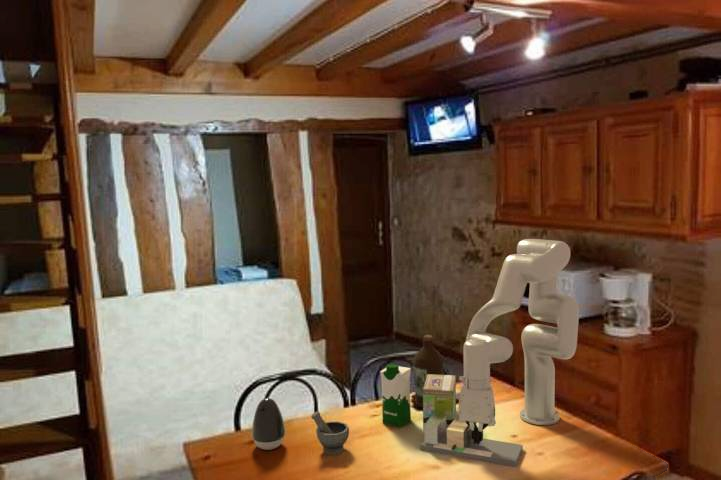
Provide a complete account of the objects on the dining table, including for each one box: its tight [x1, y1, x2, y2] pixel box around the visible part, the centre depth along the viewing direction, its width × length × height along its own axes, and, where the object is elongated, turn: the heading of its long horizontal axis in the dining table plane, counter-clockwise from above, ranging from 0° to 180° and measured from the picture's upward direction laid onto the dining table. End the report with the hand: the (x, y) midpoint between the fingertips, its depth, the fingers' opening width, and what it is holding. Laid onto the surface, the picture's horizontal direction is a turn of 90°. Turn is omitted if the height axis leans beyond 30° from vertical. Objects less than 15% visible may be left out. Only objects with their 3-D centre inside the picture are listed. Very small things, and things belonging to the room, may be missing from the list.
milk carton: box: [379, 363, 412, 429], centre depth 196 cm, size 9×9×20 cm
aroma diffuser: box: [251, 397, 286, 451], centre depth 182 cm, size 10×10×15 cm
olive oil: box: [412, 334, 444, 407], centre depth 210 cm, size 11×11×25 cm
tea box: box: [422, 374, 457, 434], centre depth 193 cm, size 15×10×15 cm, turn 168°
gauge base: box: [420, 434, 524, 468], centre depth 176 cm, size 11×28×2 cm, turn 65°
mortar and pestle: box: [310, 411, 350, 455], centre depth 178 cm, size 11×9×12 cm
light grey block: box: [423, 414, 447, 446], centre depth 180 cm, size 9×4×6 cm, turn 155°
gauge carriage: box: [447, 419, 472, 450], centre depth 176 cm, size 10×6×5 cm, turn 155°
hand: (477, 442), depth 175 cm, fingers closed
